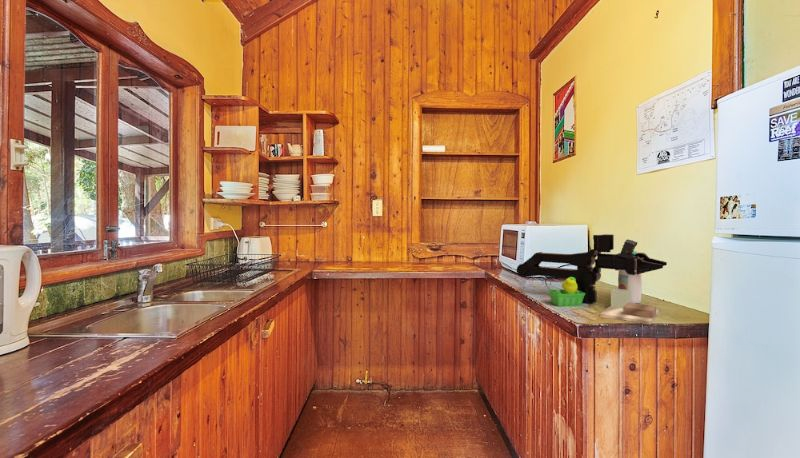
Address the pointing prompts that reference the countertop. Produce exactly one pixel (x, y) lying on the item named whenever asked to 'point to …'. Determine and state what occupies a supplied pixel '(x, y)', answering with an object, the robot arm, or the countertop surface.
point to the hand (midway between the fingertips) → (664, 265)
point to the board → (618, 314)
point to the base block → (639, 310)
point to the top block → (619, 297)
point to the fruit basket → (567, 294)
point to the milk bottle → (631, 284)
